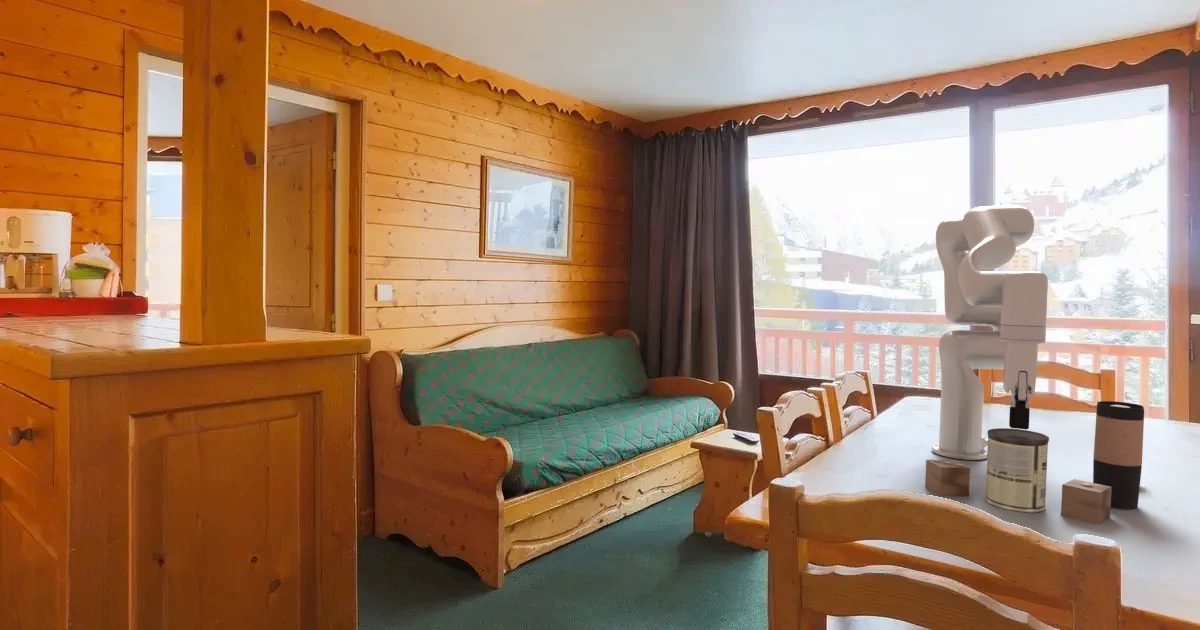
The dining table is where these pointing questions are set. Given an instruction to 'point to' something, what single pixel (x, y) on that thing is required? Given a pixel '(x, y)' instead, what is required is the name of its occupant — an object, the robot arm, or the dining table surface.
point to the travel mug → (1119, 451)
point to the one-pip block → (1086, 501)
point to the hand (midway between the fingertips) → (1018, 427)
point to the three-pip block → (947, 477)
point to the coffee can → (1016, 469)
